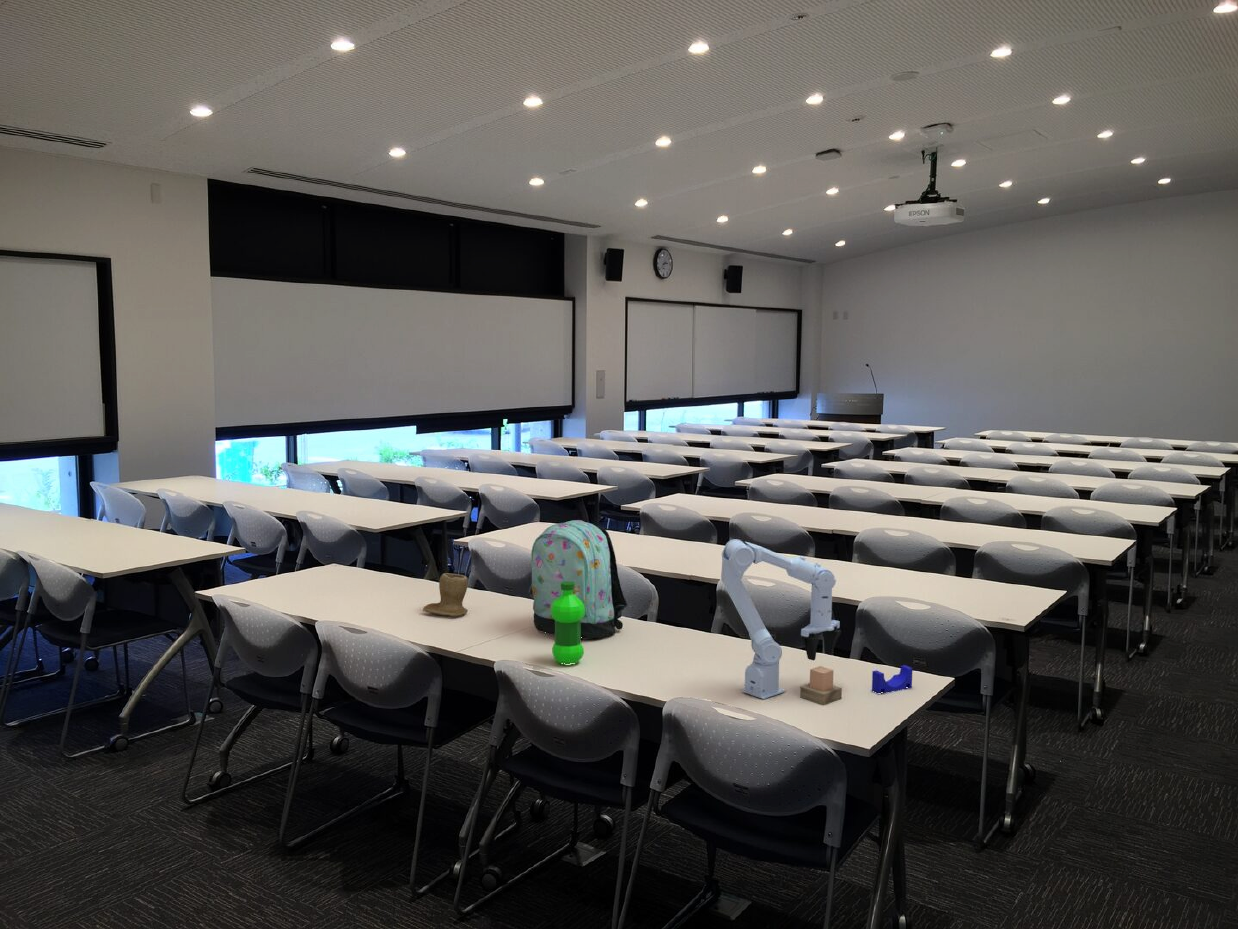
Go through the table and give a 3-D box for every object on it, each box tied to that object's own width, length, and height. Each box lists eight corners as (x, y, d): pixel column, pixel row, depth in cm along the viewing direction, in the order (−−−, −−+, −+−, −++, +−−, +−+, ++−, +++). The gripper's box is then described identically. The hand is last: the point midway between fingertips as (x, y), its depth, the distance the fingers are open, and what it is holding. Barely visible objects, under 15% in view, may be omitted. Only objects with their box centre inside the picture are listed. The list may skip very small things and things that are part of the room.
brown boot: (475, 612, 349) (474, 572, 347) (455, 620, 338) (454, 579, 337) (442, 607, 356) (441, 568, 354) (421, 615, 345) (421, 574, 344)
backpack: (515, 638, 317) (514, 524, 313) (546, 619, 340) (546, 513, 336) (604, 648, 306) (604, 530, 302) (630, 629, 329) (631, 519, 324)
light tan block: (822, 691, 258) (823, 673, 258) (809, 687, 262) (810, 669, 261) (833, 687, 261) (833, 670, 260) (819, 683, 264) (820, 666, 264)
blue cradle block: (900, 683, 274) (901, 663, 273) (911, 688, 270) (912, 668, 269) (868, 690, 269) (868, 669, 268) (879, 695, 265) (879, 674, 264)
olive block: (823, 705, 256) (823, 694, 256) (800, 697, 262) (800, 686, 262) (841, 698, 261) (841, 687, 261) (818, 690, 267) (818, 680, 267)
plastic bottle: (568, 670, 284) (568, 588, 281) (544, 663, 291) (543, 583, 288) (591, 662, 291) (591, 583, 289) (567, 655, 298) (567, 577, 296)
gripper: (815, 617, 258) (814, 665, 260) (848, 608, 268) (847, 655, 269) (795, 611, 264) (794, 659, 265) (828, 603, 273) (827, 649, 274)
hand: (820, 656), depth 268 cm, fingers open, 7 cm apart
